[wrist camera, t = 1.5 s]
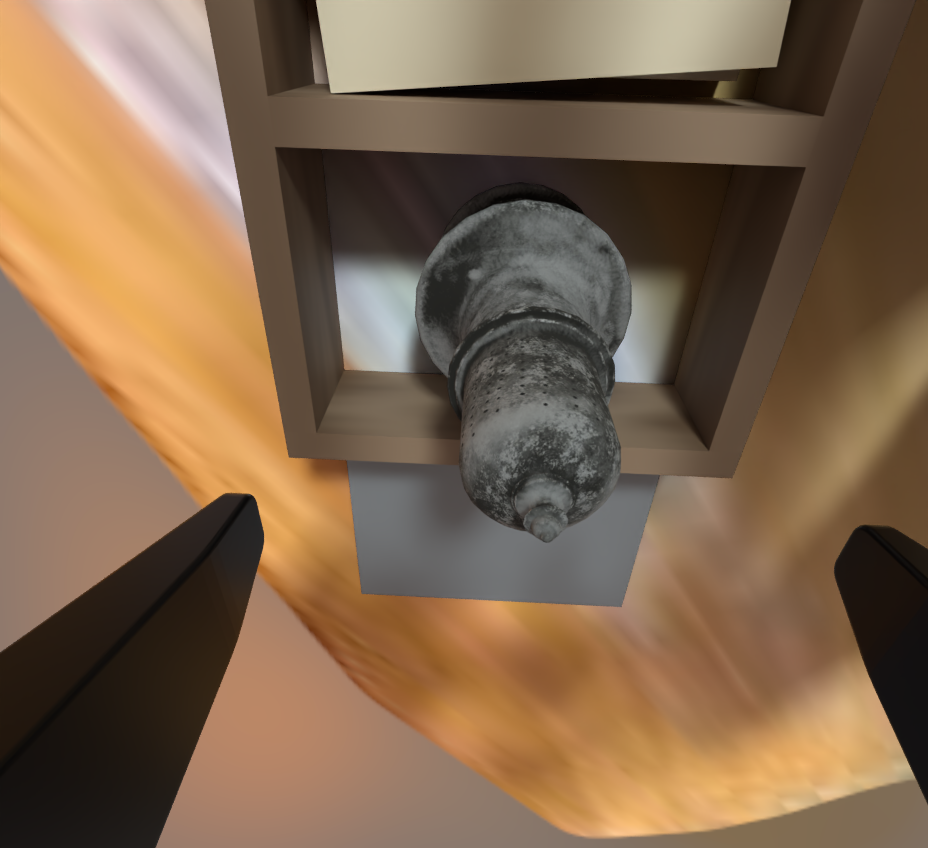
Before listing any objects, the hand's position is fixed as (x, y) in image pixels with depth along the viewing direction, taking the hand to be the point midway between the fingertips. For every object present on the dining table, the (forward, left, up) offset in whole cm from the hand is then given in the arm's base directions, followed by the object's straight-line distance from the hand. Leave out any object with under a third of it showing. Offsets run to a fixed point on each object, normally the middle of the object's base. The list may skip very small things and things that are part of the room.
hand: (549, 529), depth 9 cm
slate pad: (0, +11, -12) cm, 16 cm away
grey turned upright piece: (0, 0, -12) cm, 12 cm away
